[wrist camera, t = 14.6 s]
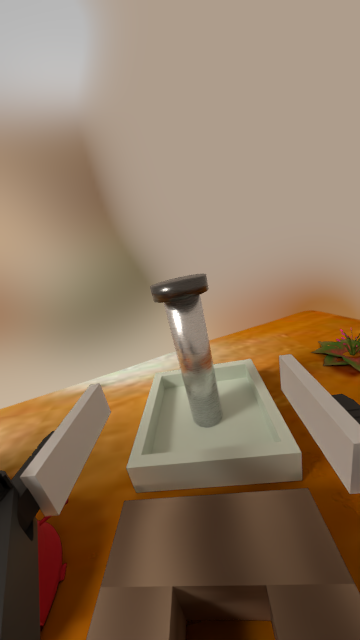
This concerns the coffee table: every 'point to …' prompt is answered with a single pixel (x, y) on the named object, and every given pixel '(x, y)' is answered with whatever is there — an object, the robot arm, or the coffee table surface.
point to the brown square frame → (225, 568)
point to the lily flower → (340, 351)
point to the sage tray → (213, 436)
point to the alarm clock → (48, 566)
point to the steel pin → (192, 344)
